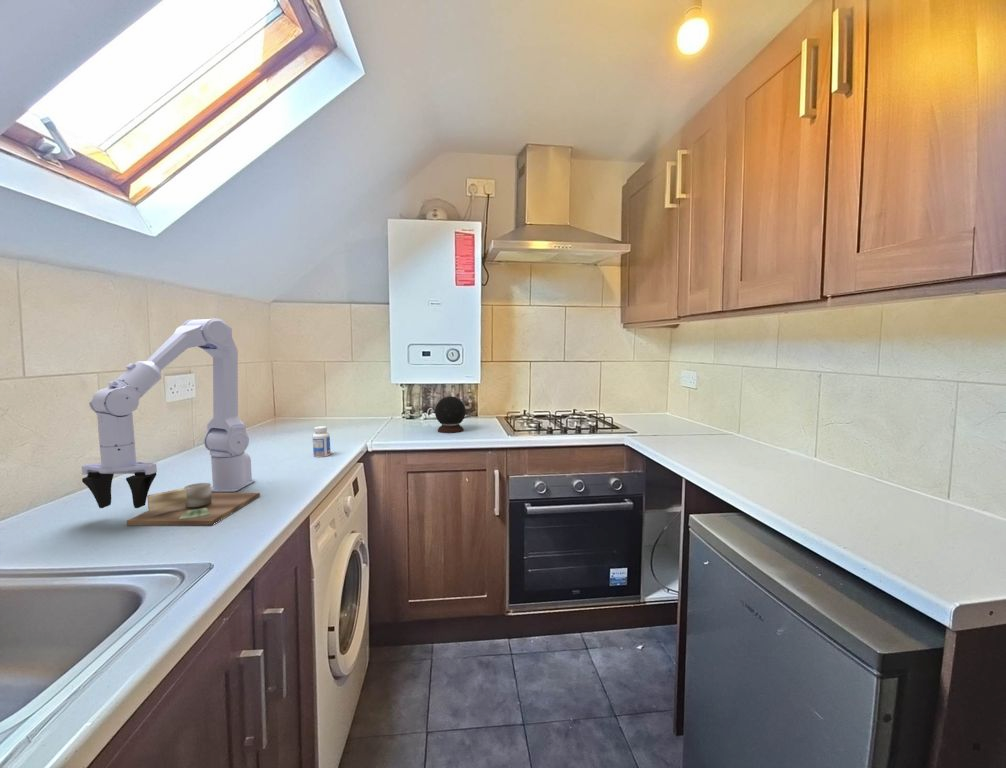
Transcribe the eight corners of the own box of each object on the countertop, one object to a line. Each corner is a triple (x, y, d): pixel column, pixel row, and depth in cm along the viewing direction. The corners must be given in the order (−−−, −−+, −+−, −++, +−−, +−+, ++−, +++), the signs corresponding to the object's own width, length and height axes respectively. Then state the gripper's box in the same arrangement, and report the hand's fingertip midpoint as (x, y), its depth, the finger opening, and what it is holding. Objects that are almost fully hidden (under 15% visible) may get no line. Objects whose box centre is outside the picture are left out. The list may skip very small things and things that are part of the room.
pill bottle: (325, 452, 158) (324, 425, 157) (333, 455, 155) (332, 426, 154) (310, 455, 154) (309, 427, 153) (318, 458, 150) (317, 429, 150)
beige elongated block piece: (207, 498, 107) (206, 481, 107) (214, 502, 104) (213, 485, 103) (146, 511, 98) (145, 493, 98) (152, 517, 95) (151, 498, 95)
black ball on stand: (435, 434, 190) (434, 398, 189) (435, 428, 203) (434, 395, 202) (467, 433, 192) (466, 397, 191) (464, 427, 205) (464, 394, 204)
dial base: (187, 496, 113) (187, 491, 113) (259, 496, 112) (259, 491, 112) (126, 525, 95) (126, 519, 95) (212, 525, 94) (211, 519, 94)
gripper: (65, 448, 93) (71, 513, 94) (135, 448, 92) (140, 513, 93) (97, 441, 100) (102, 501, 101) (162, 441, 99) (166, 501, 100)
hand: (122, 506), depth 98 cm, fingers open, 7 cm apart
